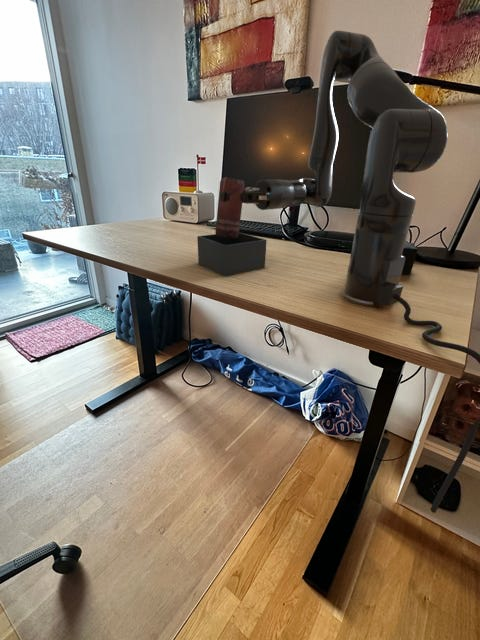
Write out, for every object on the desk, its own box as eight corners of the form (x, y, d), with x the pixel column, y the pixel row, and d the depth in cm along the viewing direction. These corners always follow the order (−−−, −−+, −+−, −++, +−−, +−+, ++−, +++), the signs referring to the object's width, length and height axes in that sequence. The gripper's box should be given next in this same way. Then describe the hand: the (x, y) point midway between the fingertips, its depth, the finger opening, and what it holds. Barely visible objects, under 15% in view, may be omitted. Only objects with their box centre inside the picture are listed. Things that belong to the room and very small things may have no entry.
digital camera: (415, 275, 79) (423, 248, 76) (393, 273, 80) (400, 247, 77) (404, 264, 88) (411, 240, 85) (384, 263, 89) (390, 239, 86)
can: (210, 235, 78) (215, 175, 72) (222, 234, 83) (228, 179, 78) (230, 239, 75) (237, 178, 70) (241, 238, 81) (248, 181, 76)
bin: (264, 267, 82) (266, 239, 78) (225, 276, 74) (225, 245, 71) (236, 257, 91) (236, 231, 88) (198, 263, 84) (197, 236, 80)
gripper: (259, 178, 86) (207, 179, 76) (292, 180, 76) (238, 181, 67) (257, 206, 89) (208, 210, 80) (290, 211, 80) (238, 216, 70)
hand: (222, 197), depth 73 cm, fingers closed
